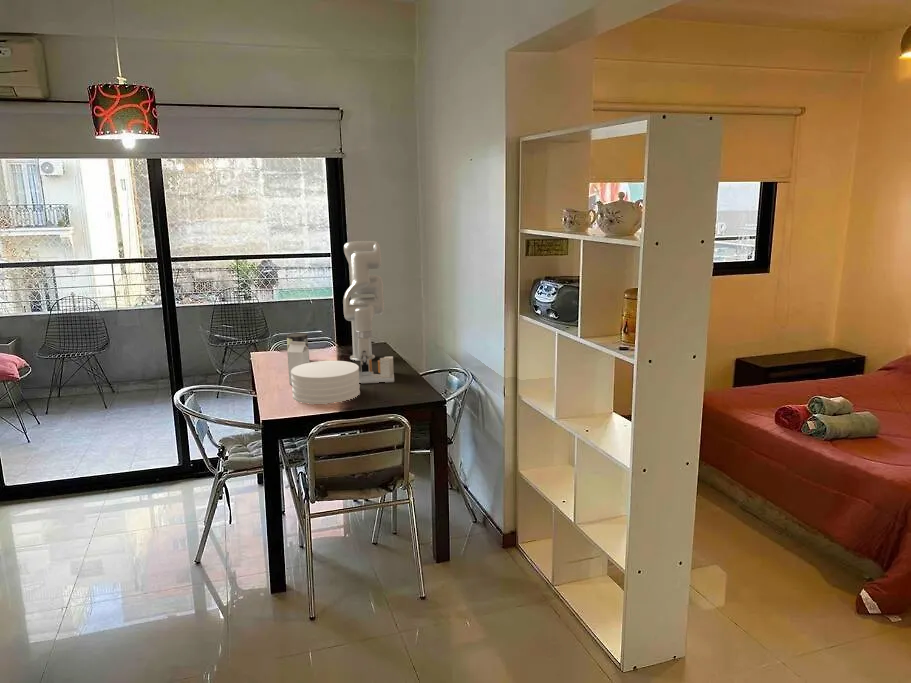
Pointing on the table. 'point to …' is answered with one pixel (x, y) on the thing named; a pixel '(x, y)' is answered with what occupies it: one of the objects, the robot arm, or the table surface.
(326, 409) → the table surface
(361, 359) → the right finger
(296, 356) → the milk carton
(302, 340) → the coffee can
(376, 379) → the rail
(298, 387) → the plate stack
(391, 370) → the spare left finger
